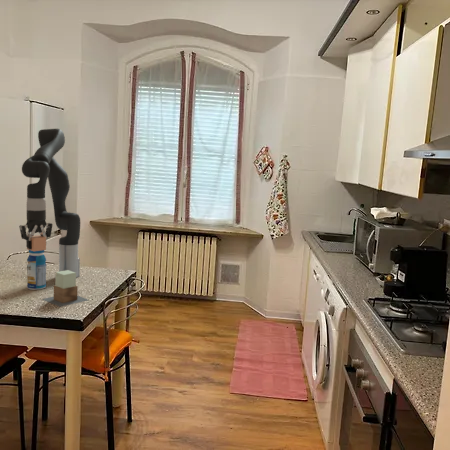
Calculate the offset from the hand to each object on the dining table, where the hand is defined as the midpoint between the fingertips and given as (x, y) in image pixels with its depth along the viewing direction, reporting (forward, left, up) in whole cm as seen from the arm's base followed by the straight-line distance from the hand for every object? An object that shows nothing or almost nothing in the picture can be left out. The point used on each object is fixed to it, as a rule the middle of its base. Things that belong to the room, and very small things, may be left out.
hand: (36, 248), depth 196 cm
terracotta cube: (0, 0, -1) cm, 1 cm away
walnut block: (-8, +10, -22) cm, 25 cm away
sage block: (-8, +10, -16) cm, 20 cm away
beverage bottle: (-9, -15, -23) cm, 29 cm away
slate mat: (-8, +10, -22) cm, 26 cm away
